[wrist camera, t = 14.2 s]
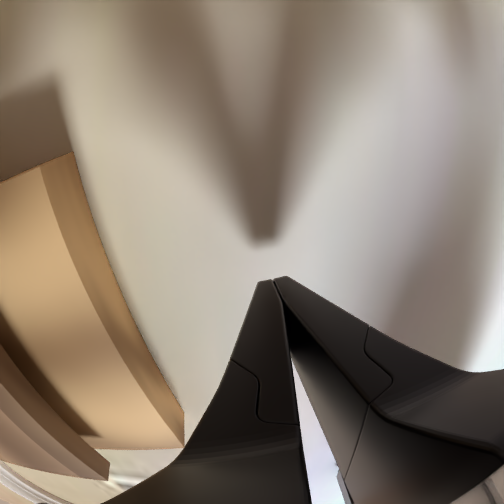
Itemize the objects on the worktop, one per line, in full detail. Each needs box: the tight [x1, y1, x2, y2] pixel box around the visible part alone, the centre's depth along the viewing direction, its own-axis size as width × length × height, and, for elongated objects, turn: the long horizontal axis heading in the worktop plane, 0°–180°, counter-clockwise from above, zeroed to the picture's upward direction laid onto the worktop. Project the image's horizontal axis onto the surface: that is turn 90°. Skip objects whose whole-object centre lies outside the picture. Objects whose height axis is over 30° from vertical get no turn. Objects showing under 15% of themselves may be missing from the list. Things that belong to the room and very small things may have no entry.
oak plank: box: [0, 152, 185, 450], centre depth 9 cm, size 12×5×2 cm, turn 8°
